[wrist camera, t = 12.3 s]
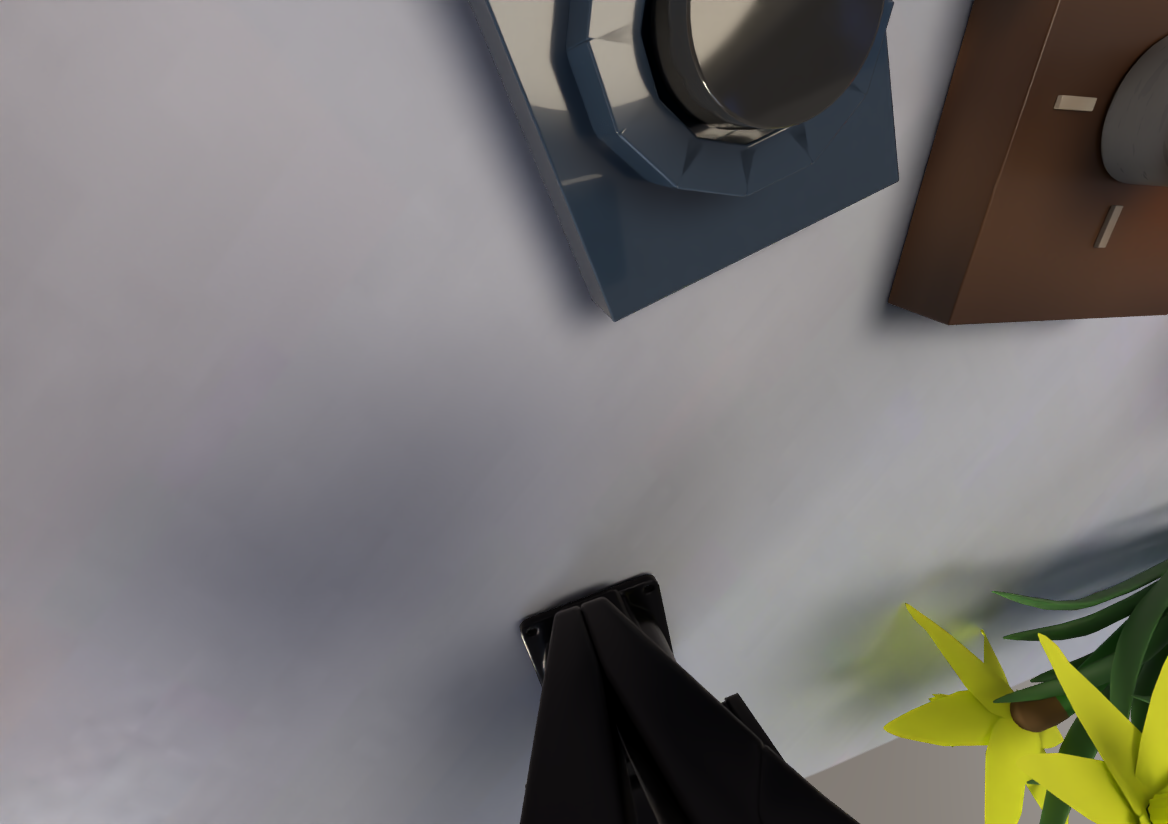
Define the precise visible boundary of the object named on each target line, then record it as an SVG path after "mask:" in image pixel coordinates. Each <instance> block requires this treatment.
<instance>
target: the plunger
mask: <svg viewBox="0 0 1168 824" xmlns="http://www.w3.org/2000/svg"><path fill="white" fill-rule="evenodd" d="M884 1H885V0H652V6H651V17H650V27H651V42H652V50H653V54H654V59H655V63H656V66H657V69H658V72H659V75H660V77H661V79H662V81H663V84H664V86H665V88H666V89H667V91H668V93H669V94H670V96H671V97H672V99H673V100H674V101H675V102H676V104H677V105H678V106H679V107H680V108H681V109H682V110H683V111H684V112H685V113H686V114H688V115H689V116H690V117H692V118H693V119H695V120H696V121H698V122H700V123H702V124H704V125H706V126H709V127H713V128H717V129H723V130H776V129H785V128H789V127H793V126H797V125H799V124H802V123H804V122H806V121H808V120H810V119H812V118H814V117H815V116H817V115H819V114H820V113H821V112H823V111H824V110H825V109H827V108H828V107H829V106H831V105H832V104H833V103H834V102H835V101H836V100H837V99H838V98H839V97H840V96H841V95H842V94H843V93H844V91H845V90H846V89H847V88H848V87H849V86H850V84H851V83H852V81H853V80H854V79H855V77H856V76H857V74H858V73H859V71H860V69H861V68H862V66H863V64H864V62H865V60H866V59H867V57H868V54H869V52H870V50H871V48H872V45H873V43H874V40H875V37H876V34H877V31H878V28H879V25H880V21H881V17H882V13H883V7H884Z"/></svg>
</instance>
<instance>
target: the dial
mask: <svg viewBox="0 0 1168 824" xmlns="http://www.w3.org/2000/svg"><path fill="white" fill-rule="evenodd" d="M1101 155H1102V161H1103V164H1104V167H1105V169H1106V170H1107V172H1108V173H1109V174H1110V176H1111V177H1113V178H1114V179H1116V180H1117V181H1119V182H1122V183H1127V184H1138V185H1151V186H1165V187H1168V36H1166V37H1164V38H1163V39H1161V40H1160V41H1158V42H1157V43H1156V44H1154V45H1153V46H1152V47H1151V48H1150V49H1148V50H1147V51H1146V52H1145V53H1144V54H1143V55H1142V56H1141V57H1140V58H1139V60H1138V61H1137V62H1136V63H1135V64H1134V65H1133V67H1132V68H1131V69H1130V71H1129V72H1128V73H1127V75H1126V76H1125V78H1124V79H1123V81H1122V83H1121V84H1120V86H1119V88H1118V90H1117V91H1116V93H1115V95H1114V97H1113V100H1112V102H1111V104H1110V106H1109V109H1108V112H1107V115H1106V118H1105V122H1104V125H1103V131H1102V137H1101Z"/></svg>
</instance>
